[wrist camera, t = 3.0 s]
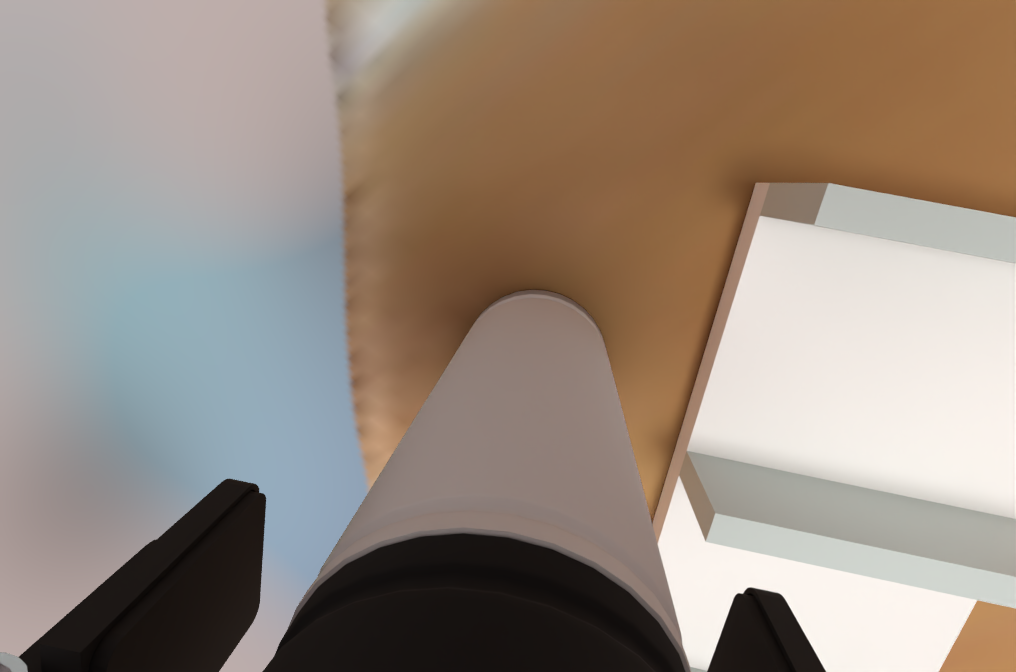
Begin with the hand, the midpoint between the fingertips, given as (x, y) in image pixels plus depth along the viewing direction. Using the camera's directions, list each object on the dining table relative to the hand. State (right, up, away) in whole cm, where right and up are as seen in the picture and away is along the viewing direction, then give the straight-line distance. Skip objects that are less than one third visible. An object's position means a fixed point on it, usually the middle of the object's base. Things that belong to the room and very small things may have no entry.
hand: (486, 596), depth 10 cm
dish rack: (+15, -1, +14) cm, 20 cm away
